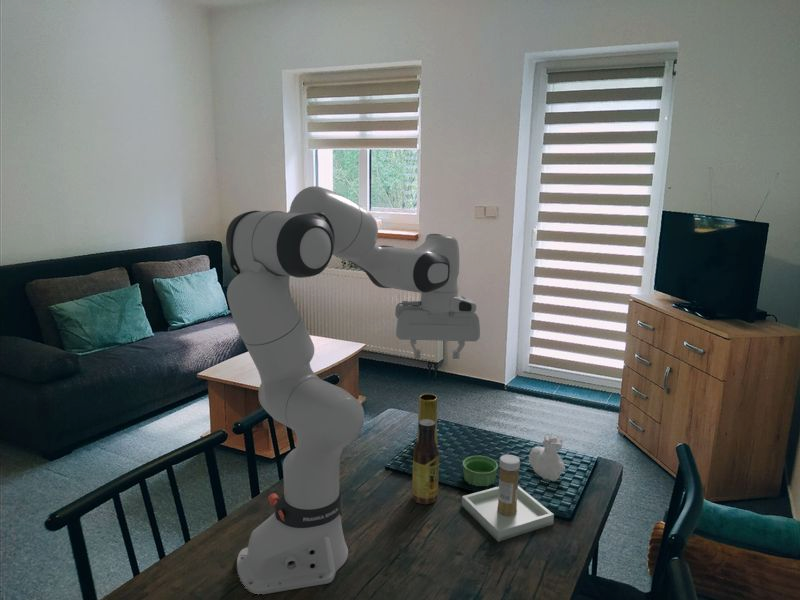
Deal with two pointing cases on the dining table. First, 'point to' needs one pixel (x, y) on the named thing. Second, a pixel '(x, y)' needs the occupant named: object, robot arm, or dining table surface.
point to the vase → (428, 411)
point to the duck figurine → (547, 458)
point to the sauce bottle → (425, 464)
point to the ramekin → (480, 470)
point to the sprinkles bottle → (508, 485)
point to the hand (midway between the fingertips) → (436, 357)
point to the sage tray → (503, 526)
